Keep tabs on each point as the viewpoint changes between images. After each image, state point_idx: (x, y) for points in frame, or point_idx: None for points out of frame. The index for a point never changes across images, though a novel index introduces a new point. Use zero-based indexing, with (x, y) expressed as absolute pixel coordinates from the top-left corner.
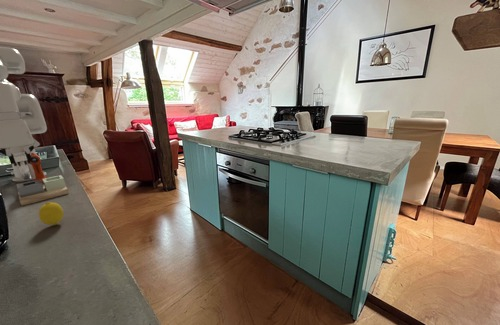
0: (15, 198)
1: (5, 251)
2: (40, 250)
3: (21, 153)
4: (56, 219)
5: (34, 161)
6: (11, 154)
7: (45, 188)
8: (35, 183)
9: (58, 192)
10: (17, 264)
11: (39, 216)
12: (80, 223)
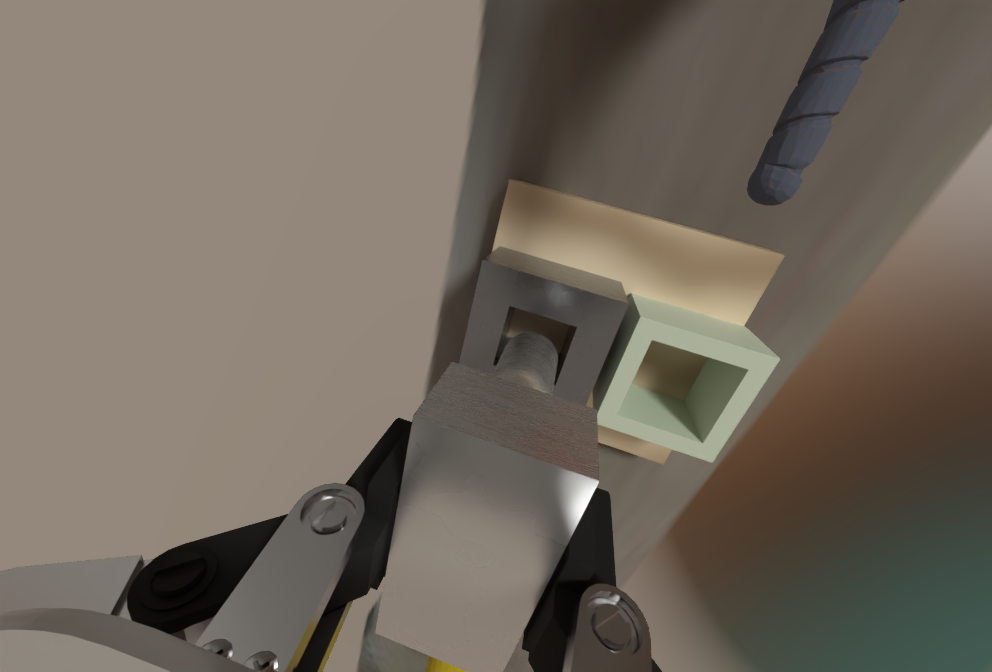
0: (485, 216)
1: (368, 614)
2: (410, 666)
3: (516, 533)
4: None
5: (759, 192)
6: (356, 586)
7: None
8: (555, 386)
9: (616, 443)
10: (375, 663)
11: (427, 663)
12: (507, 667)
